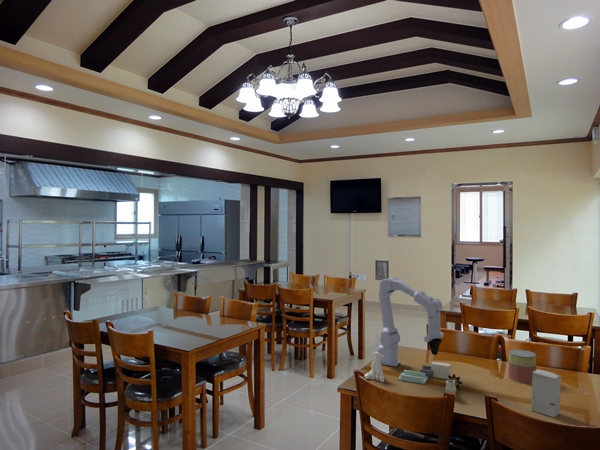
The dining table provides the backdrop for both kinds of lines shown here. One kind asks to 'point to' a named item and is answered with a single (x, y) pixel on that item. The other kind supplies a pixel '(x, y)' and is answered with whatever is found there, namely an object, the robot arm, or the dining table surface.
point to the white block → (440, 370)
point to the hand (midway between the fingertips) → (434, 354)
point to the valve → (452, 384)
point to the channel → (427, 371)
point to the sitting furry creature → (376, 368)
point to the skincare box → (546, 393)
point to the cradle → (413, 377)
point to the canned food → (521, 365)
